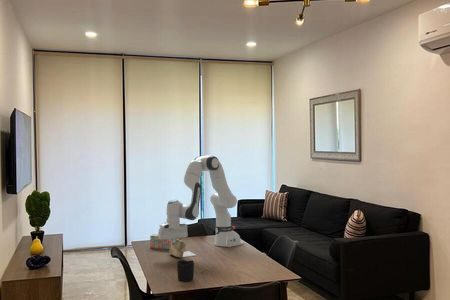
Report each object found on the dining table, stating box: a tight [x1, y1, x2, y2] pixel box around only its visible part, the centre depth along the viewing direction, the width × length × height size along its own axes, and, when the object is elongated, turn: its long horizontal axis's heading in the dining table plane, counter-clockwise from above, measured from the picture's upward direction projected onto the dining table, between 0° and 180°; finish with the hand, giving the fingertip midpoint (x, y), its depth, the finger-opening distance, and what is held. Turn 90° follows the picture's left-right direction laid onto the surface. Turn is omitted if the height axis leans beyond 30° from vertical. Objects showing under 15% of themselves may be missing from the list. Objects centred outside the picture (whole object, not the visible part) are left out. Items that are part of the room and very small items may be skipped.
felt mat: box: [181, 250, 197, 259], centre depth 296 cm, size 10×12×1 cm
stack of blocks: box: [149, 233, 182, 250], centre depth 316 cm, size 21×6×12 cm, turn 80°
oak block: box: [168, 239, 187, 259], centre depth 293 cm, size 5×12×10 cm, turn 29°
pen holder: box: [176, 259, 195, 283], centre depth 241 cm, size 9×9×10 cm
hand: (173, 244), depth 291 cm, fingers closed
